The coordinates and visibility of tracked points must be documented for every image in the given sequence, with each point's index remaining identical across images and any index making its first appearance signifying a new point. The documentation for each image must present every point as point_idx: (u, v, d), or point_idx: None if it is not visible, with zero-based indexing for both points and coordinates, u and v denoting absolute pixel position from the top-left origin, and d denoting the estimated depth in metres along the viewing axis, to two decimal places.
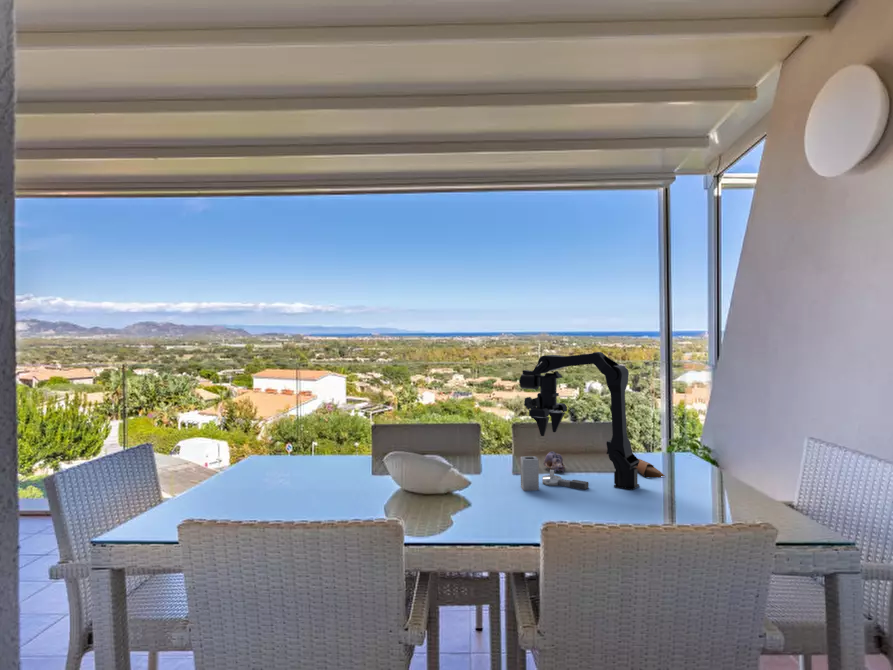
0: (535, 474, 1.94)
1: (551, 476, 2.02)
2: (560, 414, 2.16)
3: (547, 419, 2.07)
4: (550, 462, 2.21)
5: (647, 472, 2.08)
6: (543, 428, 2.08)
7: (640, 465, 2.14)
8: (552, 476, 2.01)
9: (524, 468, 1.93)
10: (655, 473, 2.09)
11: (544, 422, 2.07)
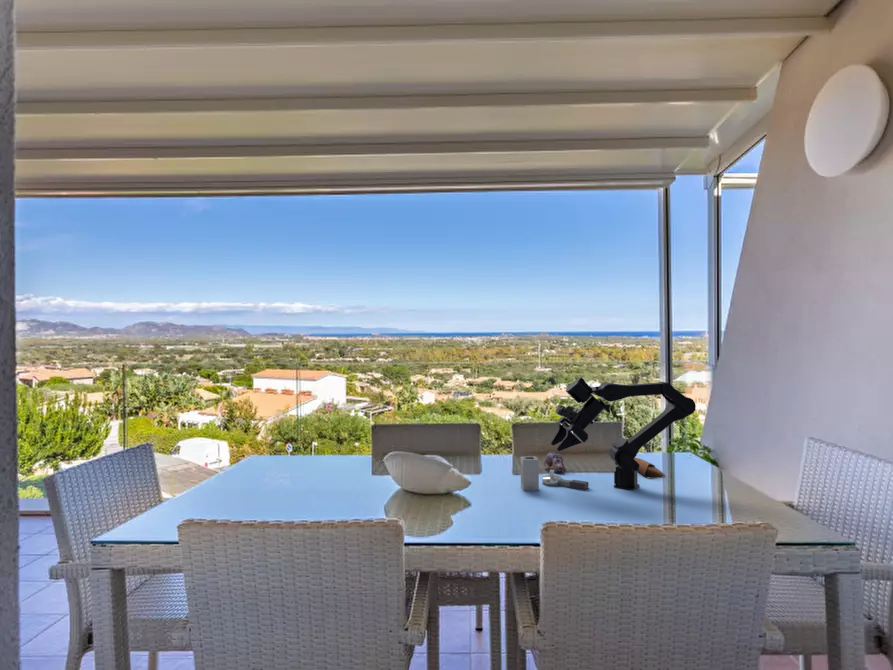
0: (535, 474, 1.94)
1: (551, 476, 2.02)
2: None
3: None
4: (550, 462, 2.21)
5: (648, 472, 2.08)
6: (566, 446, 1.91)
7: (641, 465, 2.14)
8: (552, 476, 2.01)
9: (524, 468, 1.93)
10: (656, 473, 2.09)
11: (574, 443, 1.90)
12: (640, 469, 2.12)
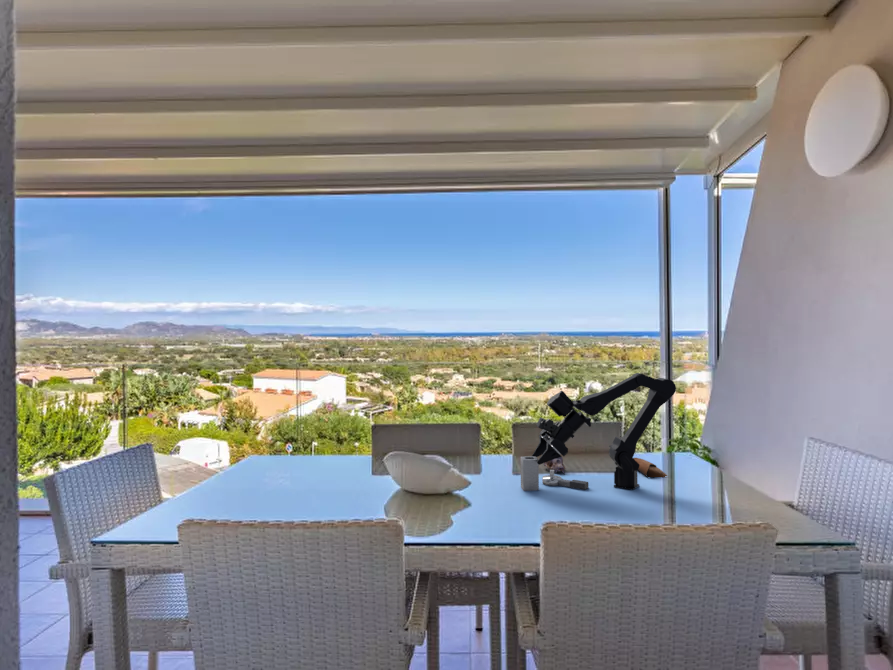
0: (535, 474, 1.94)
1: (551, 476, 2.02)
2: None
3: None
4: (550, 462, 2.20)
5: (649, 472, 2.08)
6: (546, 460, 1.90)
7: (643, 465, 2.14)
8: (552, 476, 2.01)
9: (524, 468, 1.93)
10: (658, 473, 2.09)
11: (554, 457, 1.90)
12: (642, 469, 2.12)
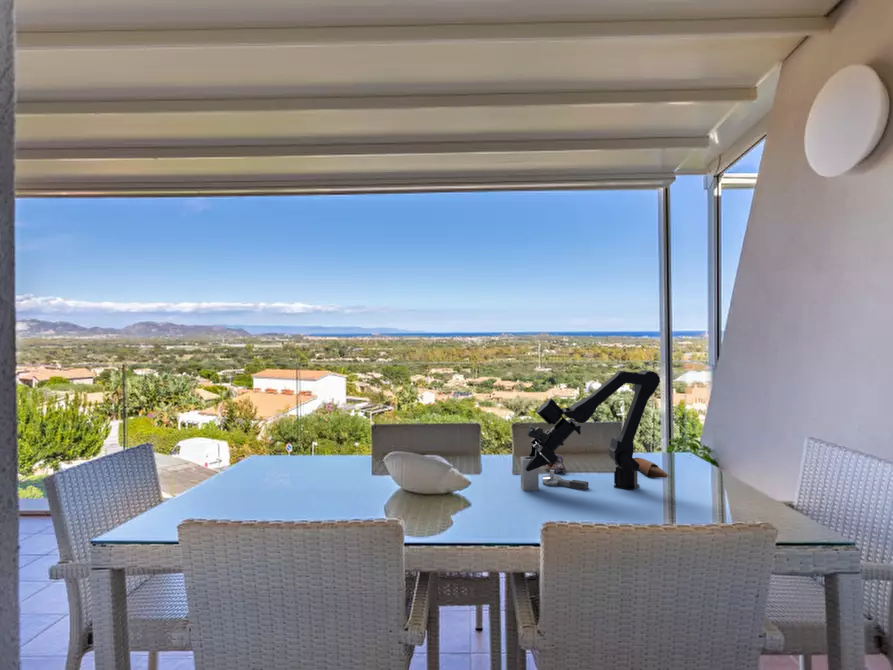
0: (535, 474, 1.94)
1: (551, 476, 2.02)
2: None
3: None
4: (551, 463, 2.20)
5: (650, 472, 2.08)
6: (535, 466, 1.92)
7: (644, 465, 2.14)
8: (552, 476, 2.01)
9: (524, 468, 1.93)
10: (659, 473, 2.09)
11: (542, 463, 1.92)
12: (643, 469, 2.12)
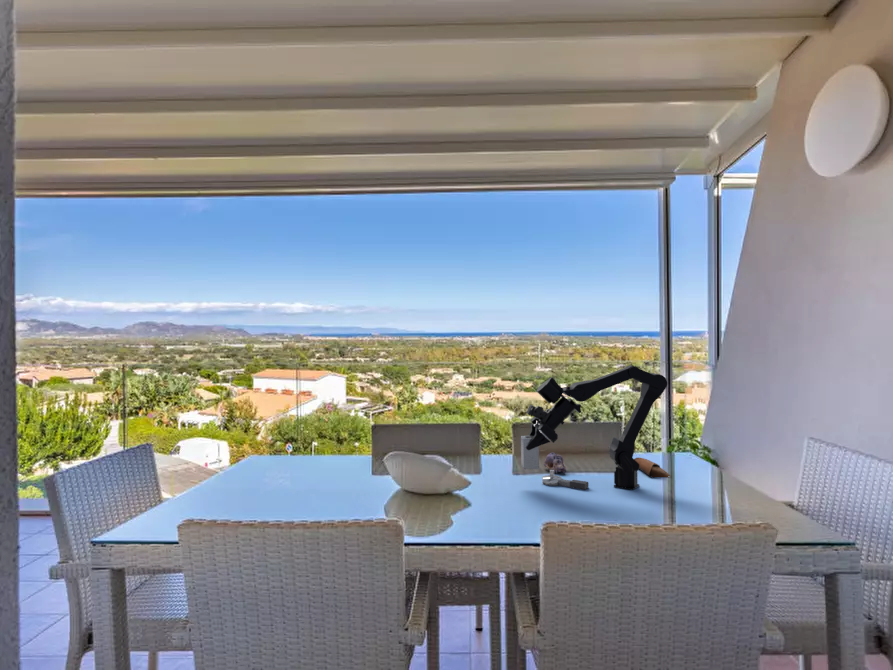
0: (535, 453, 1.94)
1: (551, 476, 2.02)
2: None
3: None
4: (551, 463, 2.19)
5: (652, 472, 2.08)
6: (535, 445, 1.92)
7: (646, 465, 2.14)
8: (552, 476, 2.01)
9: (524, 447, 1.93)
10: (661, 473, 2.09)
11: (542, 442, 1.92)
12: (645, 469, 2.12)
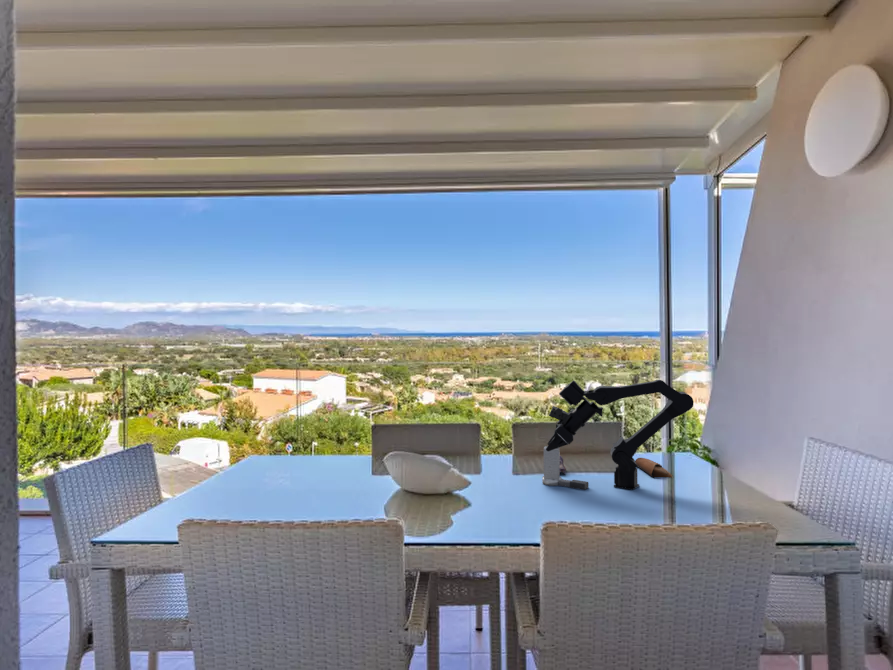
0: (555, 463, 1.99)
1: None
2: None
3: (566, 444, 1.95)
4: None
5: (654, 472, 2.08)
6: (554, 447, 1.96)
7: (648, 465, 2.14)
8: None
9: (544, 457, 2.00)
10: (663, 473, 2.09)
11: (561, 444, 1.95)
12: (647, 469, 2.12)
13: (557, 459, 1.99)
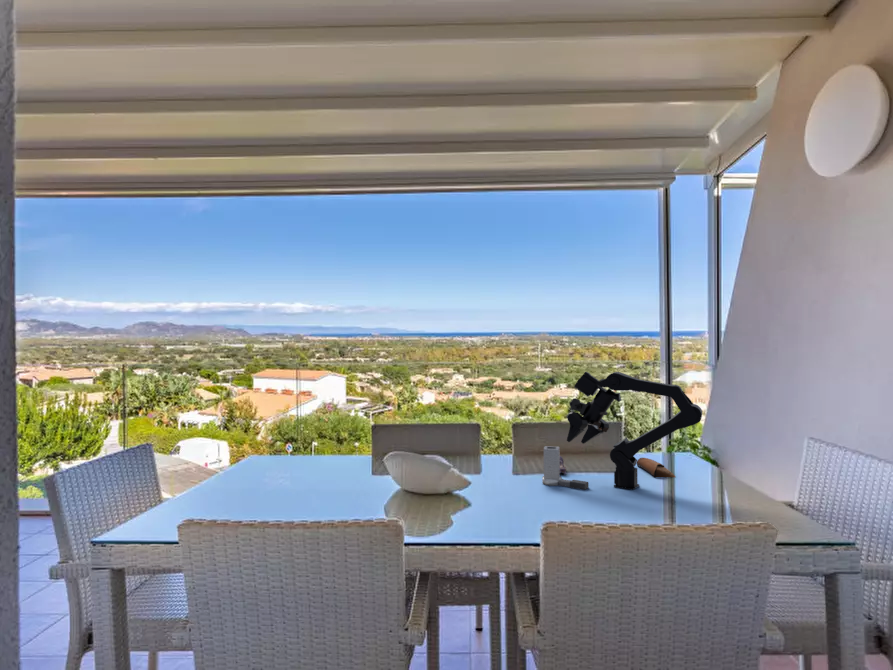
0: (555, 463, 1.99)
1: None
2: (597, 431, 2.05)
3: (581, 431, 1.96)
4: None
5: (657, 472, 2.08)
6: (572, 436, 1.99)
7: (650, 465, 2.14)
8: None
9: (544, 457, 2.00)
10: (665, 473, 2.09)
11: (576, 431, 1.97)
12: (649, 469, 2.12)
13: (557, 459, 1.99)
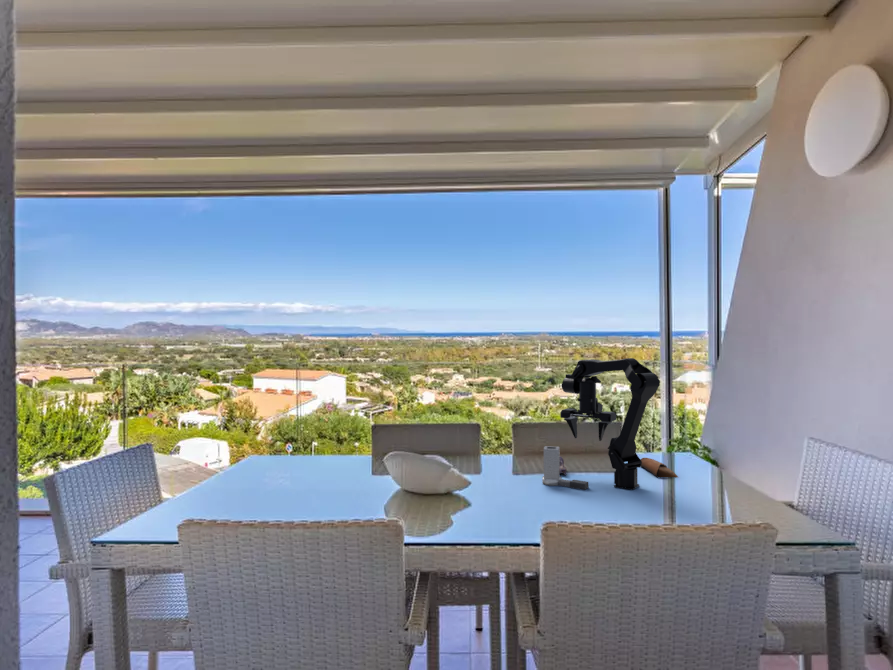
0: (555, 463, 1.99)
1: None
2: None
3: (568, 421, 2.13)
4: None
5: (659, 472, 2.08)
6: None
7: (653, 465, 2.13)
8: None
9: (544, 457, 2.00)
10: (668, 473, 2.09)
11: None
12: (652, 469, 2.12)
13: (557, 459, 1.99)
